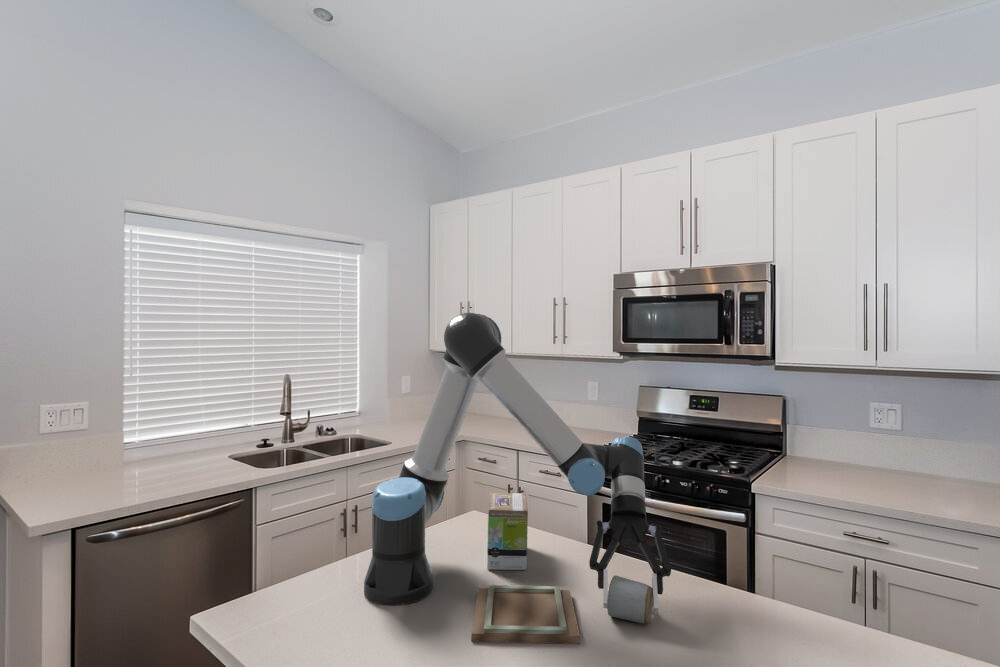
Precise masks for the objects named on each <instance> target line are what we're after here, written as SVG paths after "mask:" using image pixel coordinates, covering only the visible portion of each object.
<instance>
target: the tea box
mask: <svg viewBox="0 0 1000 667" xmlns="http://www.w3.org/2000/svg"><path fill="white" fill-rule="evenodd" d="M488 501H489V504H488V512H487V513H488V514H487V549H486V550H487V551H486V552H487V556H486V558H487V559H486V560H487V562H486V563H487V564H486V566H487V567H486V569H487V570H493V571H494V570H496V571H497V570H499V571H526V570H527V568H528V567H527V566H528V565H527V564H528V530H529V529H528V518H529V517H528V516H529V514H528V513H529V512H528V501H527V494H526V493H517V492H515V493H513V492H512V493H511V492H510V493H508V492H490V493H489V500H488Z"/></svg>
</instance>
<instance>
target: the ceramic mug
mask: <svg viewBox="0 0 1000 667" xmlns="http://www.w3.org/2000/svg"><path fill="white" fill-rule="evenodd" d="M606 609H607V610H606V611H607V614H608V616H609V617H612V618H617V619H620V620H621V619H622V620H626V621H630V622H634V623H637V624H638V623H639V624H648V623H649V622H651V619H652V615H653V612H654V611H653V589H652V586H650V585H648V584H646V583H643V582H641V581H637V580H633V579H629V578H626V577H622V576H619V575H613V576H612V578H611V580H610V583H609V587H608V594H607V608H606Z"/></svg>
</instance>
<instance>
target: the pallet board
mask: <svg viewBox="0 0 1000 667" xmlns="http://www.w3.org/2000/svg"><path fill="white" fill-rule="evenodd" d="M471 628H472V629H471V639H470V640H471V642H472V643H476V642H477V643H481V642H482V643H483V642H484V643H521V644H522V643H523V644H524V643H525V644H526V643H528V644H563V645H564V644H571V645H573V644H574V645H580V640H581V639H580V638H581V637H580V631H579V627H578V622H577V616H576V611H575V608H574V603H573V598H572V593H571V589H561V587H560V586H558V585H557V586H556V585H555V586H554V585H553V586H552V585H551V586H549V585H548V586H547V585H544V586H543V585H502V584H501V585H500V584H499V585H497V584H490V585H488V587H479V588H478V589H477V596H476V602H475V608H474V615H473V621H472V627H471Z"/></svg>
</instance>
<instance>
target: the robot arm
mask: <svg viewBox="0 0 1000 667" xmlns="http://www.w3.org/2000/svg"><path fill="white" fill-rule="evenodd" d="M443 342H444V347H445V352H444V354H443V357H442V361H443V364H444V365H445V369H444V372H443V375H442V377H441V381H440V383H439V386H438V389H437V391H436V394H435V397H434V399H433V402H432V404H431V408H430V410H429V414H428V415H427V419H426V421H425V423H424V427H423V429H422V432H421V434H420V437H419V439H418V442H417V445H416V448H415V450H414V454H413V456H412V457H410V458H408V459H406V460H405V461H404V463H403V466H402V468H401V471H400V474H399V477H396V478H395V477H394V478H391V479H389V480H385V481H382V482H380V483H379V484H378V485H377V486H376V487H375V489H374V490H373V494H372V500H371V510H372V511H371V516H372V518H371V520H372V521H371V522H372V523H371V532H372V533H371V537H372V538H371V541H372V542H371V544H372V547H371V549H372V550H371V554H372V556H371V559H370V563H369V566H368V569H367V572H366V576H365V578H364V580H363V581H364V583H363V594H364V597H366V599H367V600H369V601H370V602H372V603H374V604H377V605H378V604H379V605H384V606H385V605H386V606H400V605H401V606H402V605H407V604H411V603H415V602H418V601H420V600H423V599H424V598H425V597H427V596H428V595H430V593H431V592H432V591H433V588H434V587H433V586H434V577H433V573H432V570H431V567H430V564H429V560H428V557H427V554H426V524H427V523H428V522H429V520H430V519H431V517H432V516H433V515H434V514H435V513H436V512H437V511H438V509H439V508H440V507H441V505H442V503H443V501H444V496H445V489H446V486H447V483H448V480H449V477H450V476H449V473H448V471H447V465H448V463H449V460H450V457H451V454H452V452H453V450H454V447H455V445H456V444H455V443H456V442H457V438H458V437H459V433H460V431H461V428H462V425H463V422H464V420H465V418H466V416H467V415H466V414H467V412H468V409H469V407H470V404H471V401H472V398H473V396H474V394H475V391H476V388H477V385H478V382H479V381H480V382H481V383H482V385H484V386H485V387H486V388H487V389H488V391H489V392H490V393H491V394H492V395H493V396H494V398H496V399H497V401H498V402H500V404H501V405H502V406H503V407H504V408H505V410H507V412H508V413H509V414H510V415H511V416H512V417H513V418H514V419H515V421H516V422H517V423H518V424H519V425H520V426H521V427H522V428H523V430H524V431H525V432H526V433H527V434H528V435H529V436H530V437H531V439H532V440H533V441H534V442H535V443H536V444H537V445H538V446H539V447H540V448H541V450H543V452H544V453H545V454H546V455H547V456H548V458H550V459H551V461H552V462H553V463H554V464H555V466H557V467H558V469H559V470H560V472H561V473H563V475H564V476H565V477H566V478H567V481H568V483H569V485H570V487H571V488H572V489H573V491H574V492H576V493H577V494H579V495H581V496H593V495H595V494H597V493H598V492H599V491H600V490H601V489H602V488H603V486H604V483H605V478H606V479H610V481H611V482H610V499H611V501H610V520H609V521H608V522H602V520H597V521H596V535H595V539H594V542H593V546H592V551H591V554H590V557H589V562H588V563H589V570H590V569H591V570H592V571H593V570H595V571H596V572H597V587H598V589H599V590H600V589H601V590H603V591H602V592H603V593H602V594H603V601H602V602H603V604H602V605H603V608H604V609H607V600H608V591H609V587H608V584H609V580H608V576H609V575H608V572H609V571H608V570H609V569H607V567H608V565H609V563H610V562H611V560H612V558H613V556H614V554H615V553H616V550H617V548H618V547H619V546H620V544H624V545H625V544H631V545H637V546H638V548H639V549H640V550H641V552H642V554H643V556H644V557H645V560H646V562H647V563H648V565H649V568H650V569H651V571H652V575H651V576H652V577H651V587H652V589H653V611H652V612H653V614H658V612H659V596H658V595H661V596H662V594H663V592H664V582H663V580H664V579H663V578H665V577H670V576H671V574H672V573H671V572H672V567H671V563H670V559H669V556H668V553H667V549H666V546H665V542H664V540H663V537H662V532H663V531H662V529H663V527H662V525H661V524H657V525H651V524H649V522H648V521H647V520H648V519H647V508H646V506H647V504H646V485H645V462H644V461H645V457H644V450H643V445H642V443H641V442H640V441H639V440H638V439H637V438H634V437H632V436H623V437H620V436H619V437H615V439H613V440H612V442H611V444H610V445H609V444H608V445H603V444H596V443H585V442H583V441H582V440H581V439H580V438H579V437H578V435H576V434H575V433H574V431H573V430H572V429H571V428H570V427H569V426H568V425H567V423H566V422H564V420H563V419H562V418H561V417H560V416H559V414H557V412H556V411H555V410H554V409H553V408H552V407H551V406H550V405H549V403H548V402H547V401H546V400H545V399H544V398H543V397H542V395H540V394H539V392H537V390H536V389H535V388H534V387H533V386H532V384H530V382H528V380H527V379H526V378H525V377H524V376H523V375H522V373H521V372H519V370H518V369H517V367H515V366H514V365H513V363H511V361H510V360H509V359H508V358H507V357H506V348H504V347H503V345H502V333H501V330H500V328H499V326H498V324H497V323H496V321H494V320H493V319H492V318H491V317H489V316H487V315H485V314H480V313H476V312H475V313H474V312H464V313H459V314H457V315H456V316H454V317H453V318H452V319H451V320H450V321H449V322H448V323H447V325H446V327H445V330H444V334H443ZM608 530H610V532H611V533H612V534H613V535H612V539H611V540H610V543H609V544H608V546H607V548H606V550H605V552H604V553H603V555H602V557H601V559H600V561H598V559H599V556H600V555H599V554H600V552H601V548H602V547H601V546H602V543H603V539H604V534H607V531H608ZM648 533H650V535H651V536H652V538H654V542H655V546H656V549H657V553H658V557H659V560H660V563H661V566H662V567H661V566H660V564H659V562H658V561H657V558H656V557H655V555H654V553H653V551H652V549H651V548H650V546H649V544H648V542H647V539H646V537H645V536H646V535H647V534H648Z"/></svg>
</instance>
